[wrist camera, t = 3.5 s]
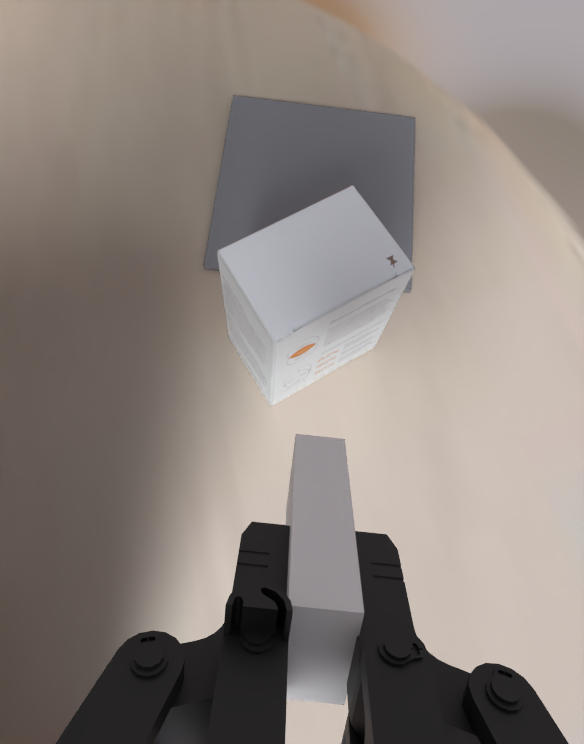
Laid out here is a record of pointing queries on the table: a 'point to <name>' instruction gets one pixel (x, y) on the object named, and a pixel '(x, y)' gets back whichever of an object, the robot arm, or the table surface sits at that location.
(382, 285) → the small box
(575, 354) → the table surface
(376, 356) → the table surface
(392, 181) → the mat
